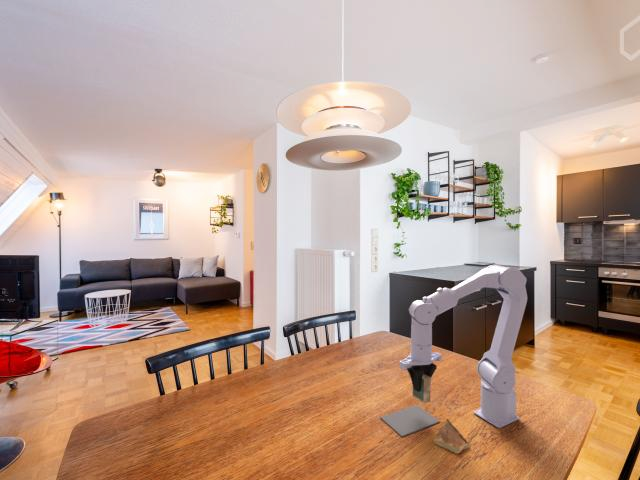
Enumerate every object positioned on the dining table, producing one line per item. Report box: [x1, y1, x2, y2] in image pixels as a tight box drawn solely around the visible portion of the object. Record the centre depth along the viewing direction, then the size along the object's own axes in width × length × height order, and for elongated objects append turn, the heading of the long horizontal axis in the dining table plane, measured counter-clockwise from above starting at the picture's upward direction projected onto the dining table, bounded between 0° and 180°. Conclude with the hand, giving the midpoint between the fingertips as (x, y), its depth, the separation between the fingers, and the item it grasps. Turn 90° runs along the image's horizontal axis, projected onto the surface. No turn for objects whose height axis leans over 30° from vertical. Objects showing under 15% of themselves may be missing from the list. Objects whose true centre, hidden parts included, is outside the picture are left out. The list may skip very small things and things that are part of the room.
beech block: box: [412, 374, 432, 404], centre depth 88 cm, size 2×4×7 cm, turn 27°
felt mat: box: [380, 404, 441, 438], centre depth 87 cm, size 14×9×1 cm, turn 117°
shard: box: [433, 418, 471, 454], centre depth 79 cm, size 11×8×2 cm
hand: (420, 388), depth 88 cm, fingers closed on beech block, 2 cm apart
